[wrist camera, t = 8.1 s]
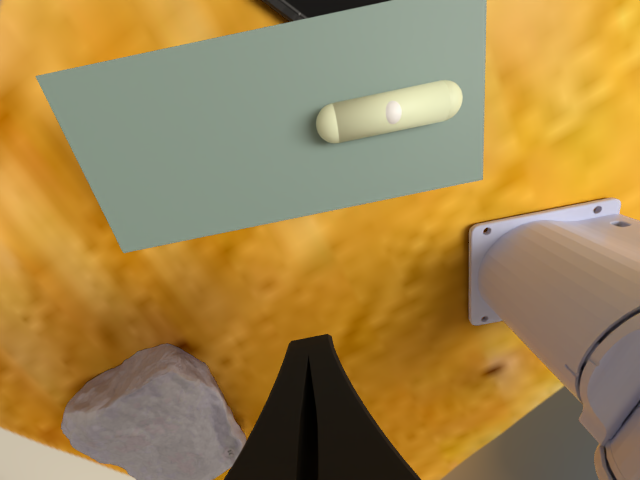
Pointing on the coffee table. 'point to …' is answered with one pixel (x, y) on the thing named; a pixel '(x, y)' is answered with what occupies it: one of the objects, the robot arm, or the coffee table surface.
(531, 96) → the coffee table surface
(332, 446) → the robot arm
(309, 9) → the phone
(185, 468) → the stone block
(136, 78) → the plate
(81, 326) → the coffee table surface
